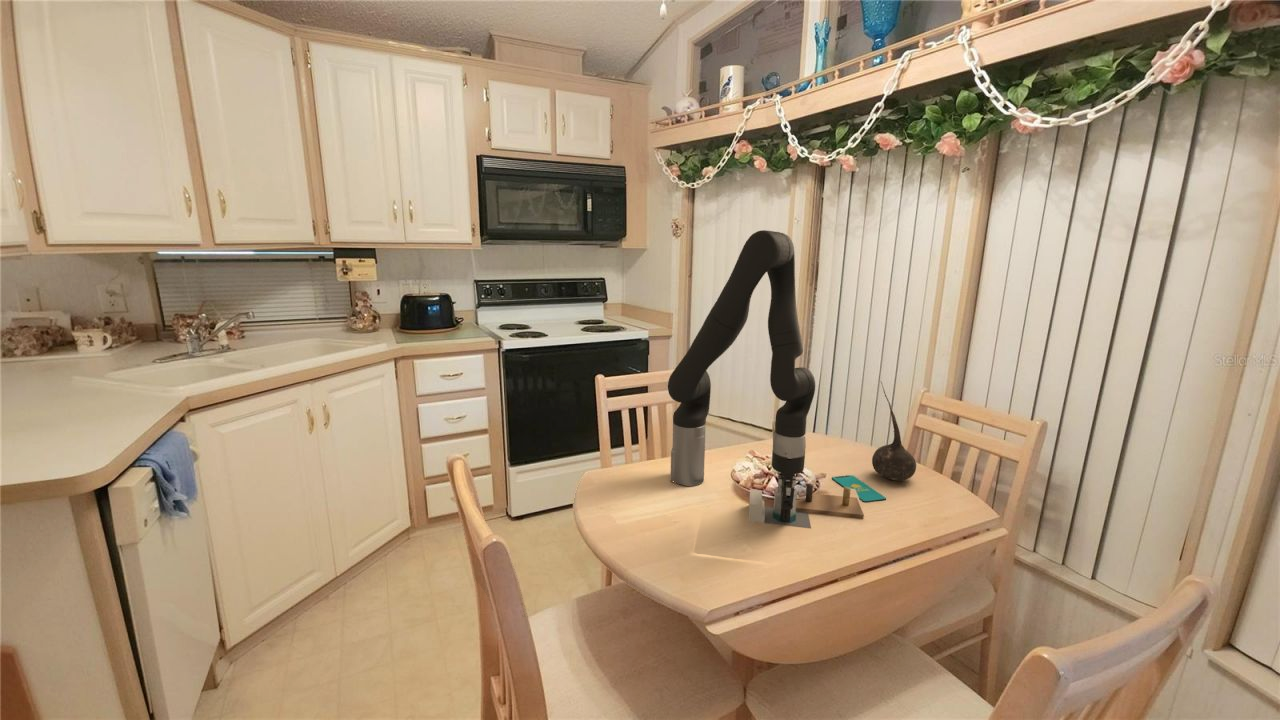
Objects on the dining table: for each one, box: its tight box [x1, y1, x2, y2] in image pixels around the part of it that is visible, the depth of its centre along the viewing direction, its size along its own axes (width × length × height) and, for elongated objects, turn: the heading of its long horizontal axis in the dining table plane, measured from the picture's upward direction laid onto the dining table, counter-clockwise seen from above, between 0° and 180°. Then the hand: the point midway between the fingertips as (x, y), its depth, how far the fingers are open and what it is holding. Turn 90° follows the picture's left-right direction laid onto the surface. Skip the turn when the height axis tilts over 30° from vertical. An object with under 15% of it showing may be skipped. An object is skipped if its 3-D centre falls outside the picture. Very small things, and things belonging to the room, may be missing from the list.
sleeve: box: [772, 486, 798, 523], centre depth 124 cm, size 5×5×7 cm
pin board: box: [796, 482, 865, 519], centre depth 130 cm, size 16×9×6 cm, turn 77°
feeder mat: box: [748, 488, 812, 529], centre depth 125 cm, size 14×8×5 cm, turn 77°
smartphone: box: [831, 474, 887, 504], centre depth 141 cm, size 7×1×15 cm
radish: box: [871, 381, 917, 482], centre depth 145 cm, size 11×14×30 cm
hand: (784, 514), depth 125 cm, fingers closed on sleeve, 5 cm apart
